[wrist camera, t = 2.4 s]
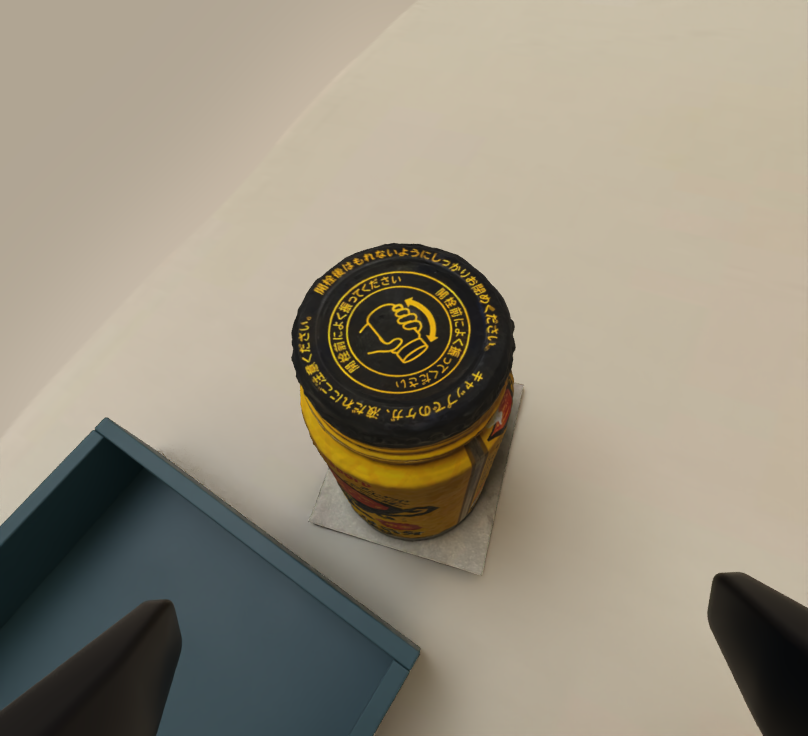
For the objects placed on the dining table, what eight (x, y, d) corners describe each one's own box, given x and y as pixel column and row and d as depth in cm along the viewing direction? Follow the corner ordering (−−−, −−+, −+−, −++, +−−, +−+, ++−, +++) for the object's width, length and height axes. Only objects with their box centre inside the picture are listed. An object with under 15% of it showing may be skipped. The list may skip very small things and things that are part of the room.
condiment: (309, 522, 22) (197, 418, 11) (372, 349, 25) (335, 143, 15) (481, 576, 21) (544, 519, 10) (522, 387, 24) (602, 194, 13)
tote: (115, 1181, 14) (11, 1368, 11) (-167, 806, 18) (-314, 850, 14) (420, 648, 20) (420, 652, 16) (153, 448, 23) (105, 416, 20)
